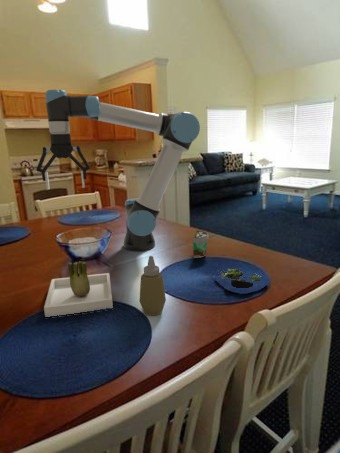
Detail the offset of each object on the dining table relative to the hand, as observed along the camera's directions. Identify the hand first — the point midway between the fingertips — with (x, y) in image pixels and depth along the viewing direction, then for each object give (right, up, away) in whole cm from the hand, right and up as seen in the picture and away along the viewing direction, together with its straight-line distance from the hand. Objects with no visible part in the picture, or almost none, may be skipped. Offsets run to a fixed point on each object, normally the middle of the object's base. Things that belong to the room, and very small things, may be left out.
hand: (66, 188), depth 130 cm
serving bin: (+12, -39, -22) cm, 47 cm away
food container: (+56, -28, +13) cm, 64 cm away
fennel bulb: (+12, -39, -22) cm, 46 cm away
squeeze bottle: (+37, -42, -30) cm, 63 cm away
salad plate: (+67, -37, -14) cm, 78 cm away
